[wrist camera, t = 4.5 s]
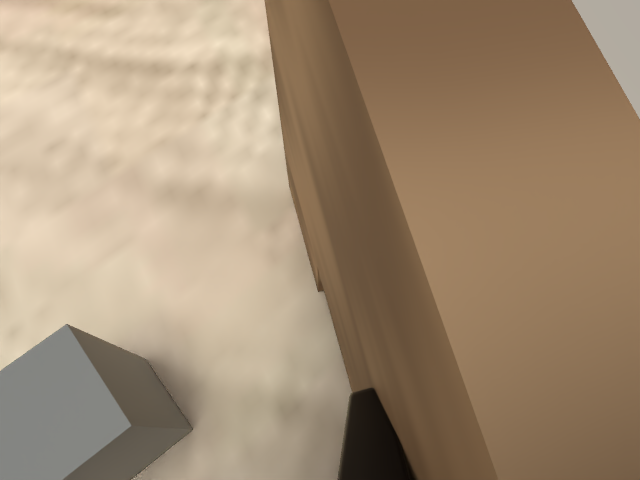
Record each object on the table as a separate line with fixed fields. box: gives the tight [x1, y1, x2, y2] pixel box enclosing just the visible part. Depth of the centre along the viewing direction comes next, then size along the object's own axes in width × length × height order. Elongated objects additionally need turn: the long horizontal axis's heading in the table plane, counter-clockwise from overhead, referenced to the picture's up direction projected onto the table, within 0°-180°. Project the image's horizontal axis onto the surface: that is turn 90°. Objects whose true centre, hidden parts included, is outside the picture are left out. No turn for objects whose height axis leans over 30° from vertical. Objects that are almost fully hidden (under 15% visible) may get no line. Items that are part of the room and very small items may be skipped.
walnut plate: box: [265, 0, 640, 480], centre depth 10 cm, size 12×2×12 cm, turn 15°
